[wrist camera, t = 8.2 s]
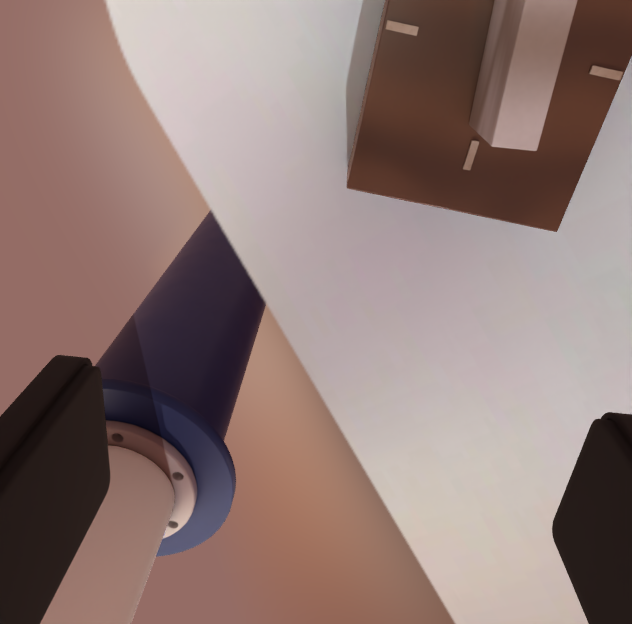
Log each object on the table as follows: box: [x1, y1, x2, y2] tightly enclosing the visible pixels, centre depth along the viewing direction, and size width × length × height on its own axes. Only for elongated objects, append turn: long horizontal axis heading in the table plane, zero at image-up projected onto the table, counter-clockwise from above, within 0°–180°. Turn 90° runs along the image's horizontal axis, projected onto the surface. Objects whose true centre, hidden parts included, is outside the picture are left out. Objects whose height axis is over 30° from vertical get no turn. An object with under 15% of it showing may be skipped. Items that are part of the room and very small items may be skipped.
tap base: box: [347, 0, 632, 232], centre depth 26 cm, size 15×11×4 cm
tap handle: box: [469, 0, 578, 151], centre depth 22 cm, size 6×2×5 cm, turn 175°
